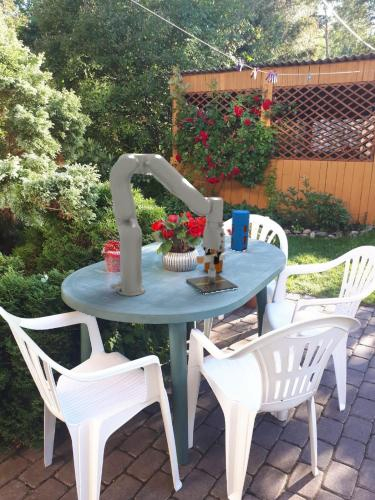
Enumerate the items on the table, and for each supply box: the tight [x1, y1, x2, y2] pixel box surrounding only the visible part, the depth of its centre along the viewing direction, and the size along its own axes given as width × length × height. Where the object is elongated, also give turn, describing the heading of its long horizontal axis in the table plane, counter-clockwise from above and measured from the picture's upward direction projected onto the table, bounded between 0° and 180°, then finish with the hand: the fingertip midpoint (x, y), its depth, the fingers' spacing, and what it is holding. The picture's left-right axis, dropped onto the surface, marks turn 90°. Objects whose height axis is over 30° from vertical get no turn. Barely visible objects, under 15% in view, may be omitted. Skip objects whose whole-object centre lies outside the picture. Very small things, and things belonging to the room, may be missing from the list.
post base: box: [185, 269, 239, 294], centre depth 177 cm, size 18×18×8 cm
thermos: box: [230, 209, 251, 252], centre depth 239 cm, size 11×11×25 cm
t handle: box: [196, 252, 227, 270], centre depth 174 cm, size 3×14×7 cm, turn 120°
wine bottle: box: [203, 249, 224, 274], centre depth 195 cm, size 10×10×30 cm
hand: (212, 262), depth 175 cm, fingers open, 4 cm apart
